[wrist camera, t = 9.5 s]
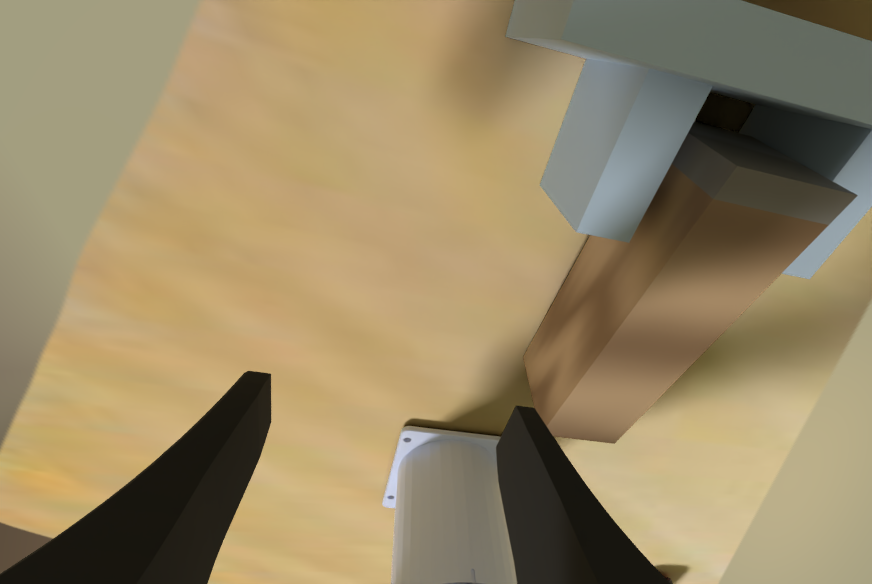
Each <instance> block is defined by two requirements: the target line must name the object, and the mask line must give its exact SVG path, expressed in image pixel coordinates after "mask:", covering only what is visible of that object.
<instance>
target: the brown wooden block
mask: <svg viewBox="0 0 872 584" xmlns="http://www.w3.org/2000/svg"><path fill="white" fill-rule="evenodd" d="M857 196H858V195H856V194H855V193H853V192H851V191H849V190H847V189H846V188H844V187H842V186H840V185H838V184H837V183H835V182H833V181H831V180H829V179H827V178H826V177H824V176H822V175H820V174H818V173H817V172H815V171H813V170H811V169H809V168H808V167H806V166H804V165H802V164H800V163H799V162H797V161H795V160H793V159H791V158H790V157H788V156H786V155H784V154H782V153H781V152H779V151H777V150H775V149H773V148H771V147H770V146H768V145H766V144H764V143H762V142H761V141H759V140H757V139H755V138H753V137H752V136H748V135H744V134H741V133H737V132H733V131H729V130H725V129H721V128H717V127H713V126H709V125H705V124H701V123H698V122H694V123H693V124H692V126H691V128H690V130H689V132H688V134H687V136H686V138H685V139H684V141H683V143H682V145H681V147H680V149H679V151H678V152H677V154H676V156H675V158H674V160H673V162H672V164H671V166H670V167H669V169H668V171H667V173H666V175H665V177H664V179H663V180H662V182H661V184H660V186H659V188H658V190H657V192H656V194H655V195H654V197H653V199H652V201H651V203H650V205H649V207H648V208H647V210H646V212H645V214H644V216H643V218H642V220H641V222H640V223H639V225H638V227H637V229H636V231H635V233H634V235H633V237H632V238H631V240H630V242H629V243H628V242H623V241H618V240H613V239H608V238H603V237H598V236H593V235H590V236H589V238H588V240H587V242H586V244H585V246H584V247H583V249H582V251H581V253H580V255H579V256H578V258H577V260H576V262H575V264H574V266H573V267H572V269H571V271H570V273H569V275H568V276H567V278H566V280H565V282H564V284H563V286H562V287H561V289H560V291H559V293H558V295H557V296H556V298H555V300H554V302H553V304H552V305H551V307H550V309H549V311H548V313H547V315H546V316H545V318H544V320H543V322H542V324H541V325H540V327H539V329H538V331H537V333H536V335H535V336H534V338H533V340H532V342H531V344H530V345H529V347H528V349H527V351H526V353H525V355H524V356H523V359H524V363H525V368H526V372H527V376H528V381H529V385H530V390H531V394H532V399H533V403H534V407H535V409H536V411H537V412H538V414H539V415H540V417H541V418H542V420H543V422H544V423H545V425H546V426H547V428H548V429H549V431H550V432H551V434H552V435H553V436H556V437H564V438H572V439H580V440H589V441H597V442H605V443H614V444H615V442H616V441H617V440H618V439H619V438H620V437H621V436H622V435H623V434H624V433H625V432H626V431H627V430H628V429H629V428H630V427H631V426H632V425H633V424H634V423H635V422H636V421H637V420H638V419H639V418H640V417H641V416H642V415H643V414H644V413H645V412H646V411H647V410H648V409H649V408H650V407H651V406H652V405H653V404H654V403H655V402H656V401H657V400H658V399H659V398H660V397H661V396H662V395H663V394H664V393H665V392H666V391H667V390H668V389H669V387H670V386H671V385H672V384H673V383H674V382H675V381H676V380H677V379H678V378H679V377H680V376H681V375H682V374H683V373H684V372H685V371H686V370H687V369H688V368H689V367H690V366H691V365H692V364H693V363H694V362H695V361H696V360H697V359H698V358H699V357H700V356H701V355H702V354H703V353H704V352H705V351H706V350H707V349H708V348H709V347H710V346H711V345H712V344H713V343H714V342H715V341H716V340H717V339H718V338H719V337H720V336H721V335H722V334H723V332H724V331H725V330H726V329H727V328H728V327H729V326H730V325H731V324H732V323H733V322H734V321H735V320H736V319H737V318H738V317H739V316H740V315H741V314H742V313H743V312H744V311H745V310H746V309H747V308H748V307H749V306H750V305H751V304H752V303H753V302H754V301H755V300H756V299H757V298H758V297H759V296H760V295H761V294H762V293H763V292H764V291H765V290H766V289H767V288H768V287H769V286H770V285H771V284H772V283H773V282H774V281H775V280H776V279H777V277H778V276H779V275H780V274H781V273H782V272H783V271H784V270H785V269H786V268H787V267H788V266H789V265H790V264H791V263H792V262H793V261H794V260H795V259H796V258H797V257H798V256H799V255H800V254H801V253H802V252H803V251H804V250H805V249H806V248H807V247H808V246H809V245H810V244H811V243H812V242H813V241H814V240H815V239H816V238H817V237H818V236H819V235H820V234H821V233H822V232H823V231H824V230H825V229H826V228H827V227H828V226H829V225H830V224H831V223H832V221H833V220H834V219H835V218H836V217H837V216H838V215H839V214H840V213H841V212H842V211H843V210H844V209H845V208H846V207H847V206H848V205H849V204H850V203H851V202H852V201H853V200H854V199H855V198H856V197H857Z"/></svg>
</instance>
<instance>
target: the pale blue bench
mask: <svg viewBox="0 0 872 584" xmlns="http://www.w3.org/2000/svg"><path fill="white" fill-rule="evenodd" d="M505 37H508V38H512V39H516V40H519V41H523V42H527V43H530V44H534V45H538V46H541V47H545V48H549V49H553V50H556V51H560V52H564V53H567V54H571V55H575V56H578V57H582V58H586V61H585V63H584V66H583V69H582V72H581V74H580V77H579V80H578V82H577V85H576V88H575V91H574V93H573V96H572V99H571V101H570V104H569V107H568V110H567V112H566V115H565V118H564V120H563V123H562V126H561V129H560V131H559V134H558V137H557V139H556V142H555V145H554V148H553V150H552V153H551V156H550V158H549V161H548V164H547V167H546V169H545V172H544V175H543V178H542V180H541V183H540V186H541V187H542V189H543V190H544V191H545V193H546V194H547V195H548V196H549V198H550V199H551V200H552V202H553V203H554V204H555V205H556V207H557V208H558V209H559V211H560V212H561V213H562V215H563V216H564V217H565V218H566V220H567V221H568V222H569V224H570V225H571V226H572V227H573V229H574V230H575V231H576V232H578V233H583V234H588V235H593V236H598V237H603V238H608V239H613V240H618V241H623V242H628V243H629V242H630V240H631V238H632V237H633V235H634V233H635V231H636V229H637V227H638V225H639V223H640V222H641V220H642V218H643V216H644V214H645V212H646V210H647V208H648V207H649V205H650V203H651V201H652V199H653V197H654V195H655V194H656V192H657V190H658V188H659V186H660V184H661V182H662V180H663V179H664V177H665V175H666V173H667V171H668V169H669V167H670V166H671V164H672V162H673V160H674V158H675V156H676V154H677V152H678V151H679V149H680V147H681V145H682V143H683V141H684V139H685V138H686V136H687V134H688V132H689V130H690V128H691V126H692V124H693V123H694V121H695V119H696V117H697V115H698V113H699V111H700V109H701V108H702V106H703V104H704V102H705V100H706V98H707V96H708V95H709V93H710V92H712V93H715V94H719V95H723V96H726V97H730V98H734V99H737V100H741V101H745V102H749V103H752V104H756V105H755V106H754V108H753V110H752V111H751V113H750V115H749V116H748V118H747V120H746V121H745V123H744V125H743V126H742V128H741V130H740V131H739V133H741V134H744V135H748V136H752V137H753V138H755V139H757V140H759V141H761V142H762V143H764V144H766V145H768V146H770V147H771V148H773V149H775V150H777V151H779V152H781V153H782V154H784V155H786V156H788V157H790V158H791V159H793V160H795V161H797V162H799V163H800V164H802V165H804V166H806V167H808V168H809V169H811V170H813V171H815V172H817V173H818V174H820V175H822V176H824V177H826V178H827V179H829V180H831V181H833V182H835V183H837V184H838V185H840V186H842V187H844V188H846V189H847V190H849V191H851V192H853V193H855V194H856V195H858V196H857V197H856V198H855V199H854V200H853V201H852V202H851V203H850V204H849V205H848V206H847V207H846V208H845V209H844V210H843V211H842V212H841V213H840V214H839V215H838V216H837V217H836V218H835V219H834V220H833V221H832V223H831V224H830V225H829V226H828V227H827V228H826V229H825V230H824V231H823V232H822V233H821V234H820V235H819V236H818V237H817V238H816V239H815V240H814V241H813V242H812V243H811V244H810V245H809V246H808V247H807V248H806V249H805V250H804V251H803V252H802V253H801V254H800V255H799V256H798V257H797V258H796V259H795V260H794V261H793V262H792V263H791V264H790V265H789V266H788V267H787V268H786V269H785V270H784V271H783V272H782V274H787V275H791V276H796V277H801V278H806V279H810V278H811V277H812V276H813V275H814V273H815V272H816V271H817V270H818V269H819V268H820V266H821V265H822V264H823V263H824V262H825V261H826V259H827V258H828V257H829V256H830V255H831V254H832V252H833V251H834V250H835V249H836V248H837V247H838V245H839V244H840V243H841V242H842V241H843V240H844V238H845V237H846V236H847V235H848V234H849V232H850V231H851V230H852V229H853V228H854V227H855V225H856V224H857V223H858V222H859V221H860V220H861V218H862V217H863V216H864V215H865V214H866V213H867V211H868V210H869V209H870V208H871V207H872V41H870V40H867V39H864V38H860V37H857V36H854V35H851V34H848V33H844V32H841V31H838V30H835V29H832V28H828V27H825V26H822V25H819V24H816V23H812V22H809V21H806V20H803V19H800V18H796V17H793V16H790V15H787V14H784V13H780V12H777V11H774V10H771V9H768V8H764V7H761V6H758V5H755V4H751V3H748V2H745V1H742V0H515V1H514V5H513V9H512V13H511V17H510V20H509V24H508V28H507V32H506V35H505Z"/></svg>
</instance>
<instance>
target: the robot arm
mask: <svg viewBox="0 0 872 584" xmlns="http://www.w3.org/2000/svg"><path fill="white" fill-rule="evenodd" d="M270 424H271V374H268V373H261V372H253V371H247V372H245V373H244V374H243V375H242V376H241V377H240V378H239V379H238V381H237V382H236V383H235V384H234V385H233V386H232V387H231V388H230V389H229V390H228V392H227V393H226V394H225V395H224V396H223V397H222V398H221V399H220V400H219V401H218V402H217V403H216V404H215V405H214V406H213V407H212V408H211V409H210V410H209V411H208V412H207V413H206V414H205V415H204V416H203V417H202V418H201V419H200V420H199V421H198V422H197V423H196V424H195V425H194V426H193V427H192V428H191V429H190V430H189V431H188V432H187V433H185V434H184V435H183V436H182V437H181V438H180V439H179V440H178V441H177V442H176V443H175V444H173V445H172V446H171V447H170V448H169V449H168V450H167V451H165V452H164V453H163V454H162V455H161V456H160V457H159V458H158V459H156V460H155V461H154V462H153V463H152V464H151V465H150V466H148V467H147V468H146V469H145V470H144V471H142V472H141V473H140V474H139V475H138V476H136V477H135V478H134V479H133V480H131V481H130V482H129V483H128V484H127V485H125V486H124V487H123V488H121V489H120V490H119V491H118V492H116V493H115V494H114V495H113V496H111V497H110V498H109V499H107V500H106V501H105V502H103V503H102V504H101V505H99V506H98V507H97V508H95V509H94V510H93V511H91V512H90V513H88V514H87V515H86V516H84V517H83V518H82V519H80V520H79V521H78V522H76V523H75V524H74V525H72V526H71V527H69V528H68V529H67V530H65V531H64V532H62V533H61V534H59V535H58V536H57V537H55V538H54V539H52V540H51V541H49V542H48V543H46V544H45V545H43V546H42V547H41V548H39V549H37V550H36V551H34V552H33V553H31V554H30V555H28V556H27V557H25V558H24V559H22V560H21V561H19V562H18V563H16V564H15V565H13V566H12V567H10V568H9V569H7V570H6V571H4V572H2V573H1V574H0V584H207V583H208V580H209V577H210V574H211V571H212V569H213V566H214V563H215V560H216V557H217V555H218V552H219V550H220V547H221V545H222V542H223V540H224V538H225V535H226V533H227V531H228V529H229V526H230V524H231V522H232V520H233V517H234V515H235V513H236V511H237V508H238V506H239V504H240V501H241V499H242V497H243V495H244V492H245V490H246V488H247V486H248V483H249V481H250V479H251V477H252V474H253V472H254V470H255V467H256V465H257V463H258V460H259V458H260V455H261V452H262V449H263V446H264V443H265V440H266V437H267V433H268V430H269V427H270ZM382 504H383V506H384V507H387V508H395V520H394V537H393V555H392V572H391V584H670V582H669V581H668V580H667V579H666V578H665V577H664V576H663V575H662V574H661V573H660V572H659V571H658V570H657V569H656V568H655V567H654V566H653V565H652V564H651V563H650V562H649V560H648V559H647V558H646V557H645V556H644V555H643V554H642V553H641V552H640V551H639V550H638V548H637V547H636V546H635V545H634V544H633V543H632V541H631V540H630V539H629V538H628V537H627V536H626V534H625V533H624V532H623V531H622V530H621V529H620V527H619V526H618V525H617V524H616V523H615V521H614V520H613V519H612V518H611V517H610V515H609V514H608V513H607V512H606V510H605V509H604V508H603V506H602V505H601V504H600V502H599V501H598V500H597V499H596V497H595V496H594V495H593V493H592V492H591V491H590V489H589V488H588V487H587V485H586V484H585V482H584V481H583V480H582V478H581V477H580V475H579V474H578V472H577V471H576V470H575V468H574V467H573V465H572V464H571V462H570V461H569V459H568V458H567V457H566V455H565V454H564V452H563V451H562V449H561V448H560V446H559V444H558V443H557V441H556V440H555V438H554V437H553V435H552V434H551V432H550V431H549V429H548V428H547V426H546V425H545V423H544V422H543V420H542V418H541V417H540V415H539V414H538V412H537V411H536V409H535V408H529V407H522V406H516V407H515V409H514V411H513V413H512V415H511V417H510V419H509V421H508V423H507V425H506V427H505V429H504V431H503V433H502V436H501V437H500V436H491V435H483V434H474V433H466V432H457V431H449V430H440V429H432V428H423V427H415V426H405V427H404V428H402V430H401V433H400V437H399V441H398V444H397V448H396V452H395V456H394V459H393V463H392V467H391V471H390V474H389V478H388V482H387V486H386V489H385V493H384V497H383V503H382Z"/></svg>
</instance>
